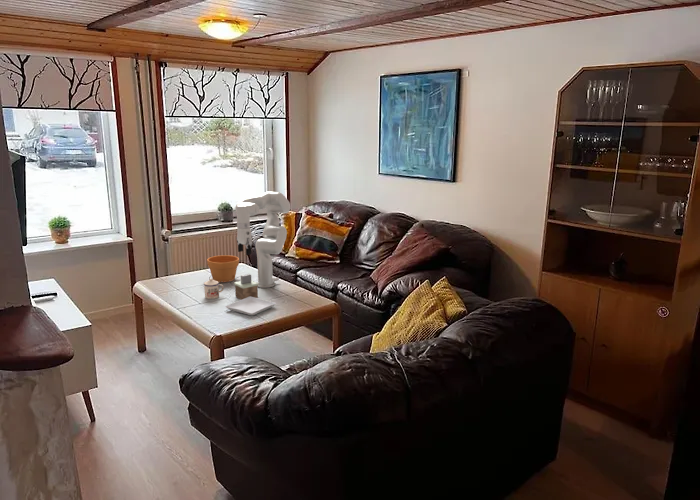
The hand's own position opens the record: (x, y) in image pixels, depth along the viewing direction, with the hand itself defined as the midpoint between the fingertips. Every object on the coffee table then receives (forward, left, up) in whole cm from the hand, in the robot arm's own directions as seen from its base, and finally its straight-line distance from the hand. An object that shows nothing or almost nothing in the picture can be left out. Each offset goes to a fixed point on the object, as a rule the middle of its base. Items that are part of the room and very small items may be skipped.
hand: (244, 253), depth 330 cm
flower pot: (-7, -42, -28) cm, 51 cm away
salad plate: (+9, +21, -29) cm, 36 cm away
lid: (0, 0, -20) cm, 20 cm away
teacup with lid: (+15, -13, -28) cm, 35 cm away
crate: (0, 0, -28) cm, 28 cm away
